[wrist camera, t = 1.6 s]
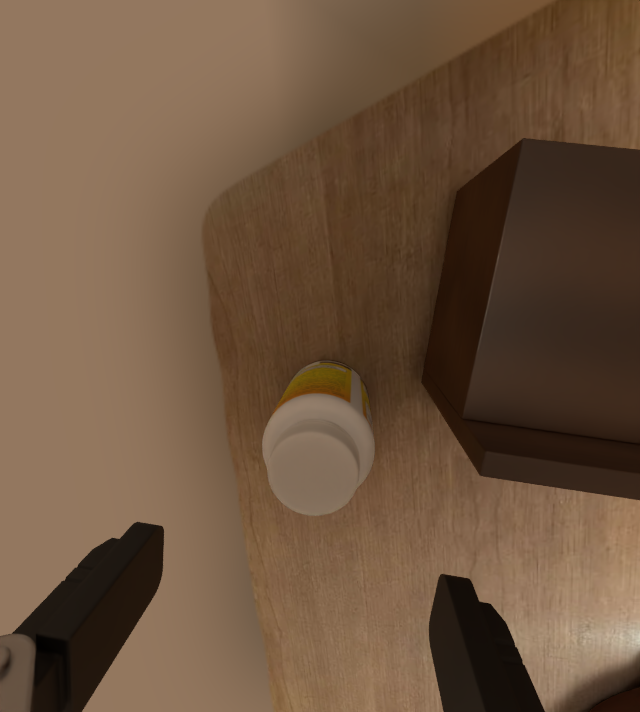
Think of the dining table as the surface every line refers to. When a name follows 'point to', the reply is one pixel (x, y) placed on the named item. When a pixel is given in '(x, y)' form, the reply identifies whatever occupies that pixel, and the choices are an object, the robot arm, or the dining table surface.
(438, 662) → the robot arm
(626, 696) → the dish
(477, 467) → the shelf
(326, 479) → the supplement bottle
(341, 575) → the dining table surface
